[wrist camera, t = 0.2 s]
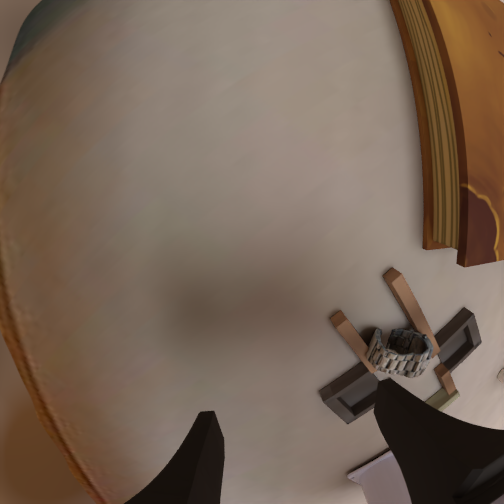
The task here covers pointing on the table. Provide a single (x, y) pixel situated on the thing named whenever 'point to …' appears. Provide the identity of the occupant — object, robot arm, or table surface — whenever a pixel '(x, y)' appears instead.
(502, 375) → the hard drive
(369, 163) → the table surface
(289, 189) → the table surface
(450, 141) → the diary
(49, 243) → the table surface
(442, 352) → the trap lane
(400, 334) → the wristwatch
